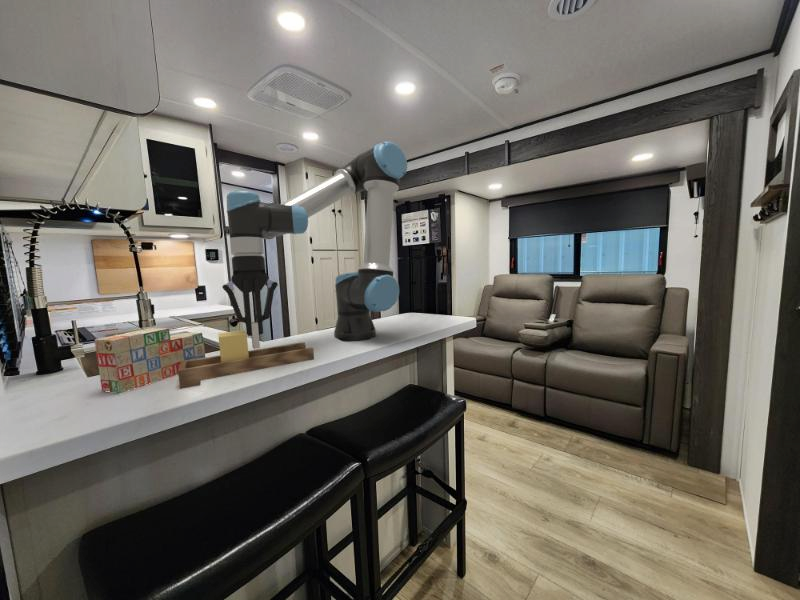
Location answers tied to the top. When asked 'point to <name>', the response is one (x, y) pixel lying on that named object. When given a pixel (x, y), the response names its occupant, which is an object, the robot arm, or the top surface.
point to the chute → (241, 363)
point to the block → (233, 345)
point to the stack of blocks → (144, 357)
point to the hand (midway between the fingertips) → (256, 347)
